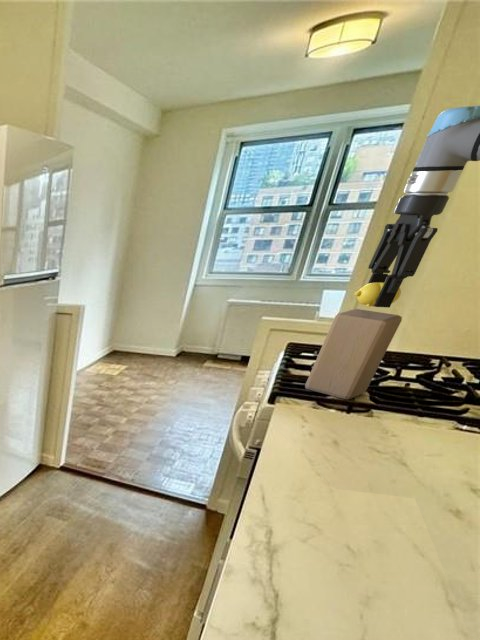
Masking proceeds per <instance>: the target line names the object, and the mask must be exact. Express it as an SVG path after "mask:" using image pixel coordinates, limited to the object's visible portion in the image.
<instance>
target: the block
mask: <svg viewBox="0 0 480 640" xmlns="http://www.w3.org/2000/svg"><path fill="white" fill-rule="evenodd" d="M402 319H403V317H402V316H401V315H399V314H393V313H386V312H380V311H373V310H366V309H360V308H353V309H349V310H347V311H346V310H345V311H342V312H338V313H337V314H336V315H335V316H334V318H333V320H332V323H331V325H330V328H329V330H328V331H327V334H326V336H325V339H324V341H323V343H322V345H321V347H320V350H319V352H318V355H317V357H316V360H315V361H314V364H313V365H312V368H311V371H310V373H309V376H308V378H307V380H306V382H305V384H304V389H306V390H308V391H311V392H316V393H320V394H323V395H327V396H330V397H334V398H338V399H342V400H346V401H347V400H352V399H353V398H356V397H358V396H360V395H363V394H364V393H366V391H367V390H368V388H369V386H370V384H371V382H372V380H373V378H374V377H375V375H376V373H377V370H378V368H379V366H380V365H381V362H382V360H383V358H384V356H385V355H386V352H387V350H388V348H389V346H390V344H391V342H392V341H393V338H394V337H395V334H396V332H397V330H398V328H399V327H400V325H401V323H402Z"/></svg>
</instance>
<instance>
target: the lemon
mask: <svg viewBox="0 0 480 640" xmlns="http://www.w3.org/2000/svg"><path fill="white" fill-rule="evenodd" d="M384 283H385V282H384ZM384 283H378V282H375V283H369V284H368V283H367V284H365V285H362V287H361V288H360V289H359V290H357V291H355V292H354V296H356V299H357V301H358V302H359V303H360V304H362V305H364V306H366V307H374V304H375V302H376V300H377V298H378V296H379V294H380V292H381V290H382V287H383V285H384ZM401 294H402V289H401V288H400V287H399V290H398V291H397V293H396V295H395V298H394V300H393V302H392V304H394V303H395V302H396V301H397V300H399V298H400V296H401Z"/></svg>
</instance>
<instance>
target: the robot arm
mask: <svg viewBox="0 0 480 640" xmlns="http://www.w3.org/2000/svg"><path fill="white" fill-rule="evenodd" d="M479 161H480V105H472V106H458V107H451V108H448V109H445V110H443V111H442V112H440V114H438V116H437V117H436V118H435V121H434V123H433V125H432V127H431V129H430V131H429V133H428V134H427V135H426V139H425V141H424V143H423V146H422V149H421V151H420V152H419V156H418V158H417V160H416V163H415V165H414V167H413V169H412V171H411V173H410V176H409V177H408V178H407V179H406V185H405V187H404V190H403V193H405V195H402V196H400V198H399V200H398V203H397V205H396V207H395V209H394V211H393V213H394V214H395V215H399V217H398V218H397V219H396V221H395V223H387V224H385V226H384V229H383V234H382V236H381V238H380V240H379V243H378V245H377V247H376V248H375V251H374V254H373V256H372V258H371V260H370V262H369V264H368V269H369V270H371V275H370V278H369V280H368V283H367V284H369V283H375V282H378V283H384V285H383V287H382V290H381V292H380V294H379V296H378V298H377V300H376V302H375V304H374V306H373V307H374V308H391V306H392V304H393V303H394V302H393V300H394V298H395V295H396V293H397V291H398V290H399V288H400V287H401V286H402V283H403V282H404V279H407V278H409V277H414V276H415V274H416V272H417V270H418V268H419V266H420V264H421V262H422V259H423V258H424V255H425V254H426V251H427V250H428V247H429V245H430V244H431V241H432V239H433V238H434V237H435V235H436V234H437V233H438V227H431V221H432V218H433V216H438V215H441V214H442V213H443V212H444V210H445V208H446V206H447V203H448V202H449V200H450V197H449V195H448V194H449V193H452V192H453V191H454V190H455V188H456V186H457V183H458V182H459V179H460V177H461V175H462V173H463V171H464V169H465V166H466V165H467V163H468V162H479ZM393 262H394V263H393ZM392 264H394V265H393V268H392V271H391V270H389V269H390V267H391V266H392ZM390 273H391V274H390ZM392 302H393V303H392Z"/></svg>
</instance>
